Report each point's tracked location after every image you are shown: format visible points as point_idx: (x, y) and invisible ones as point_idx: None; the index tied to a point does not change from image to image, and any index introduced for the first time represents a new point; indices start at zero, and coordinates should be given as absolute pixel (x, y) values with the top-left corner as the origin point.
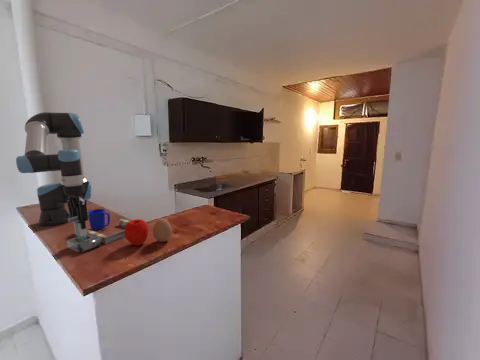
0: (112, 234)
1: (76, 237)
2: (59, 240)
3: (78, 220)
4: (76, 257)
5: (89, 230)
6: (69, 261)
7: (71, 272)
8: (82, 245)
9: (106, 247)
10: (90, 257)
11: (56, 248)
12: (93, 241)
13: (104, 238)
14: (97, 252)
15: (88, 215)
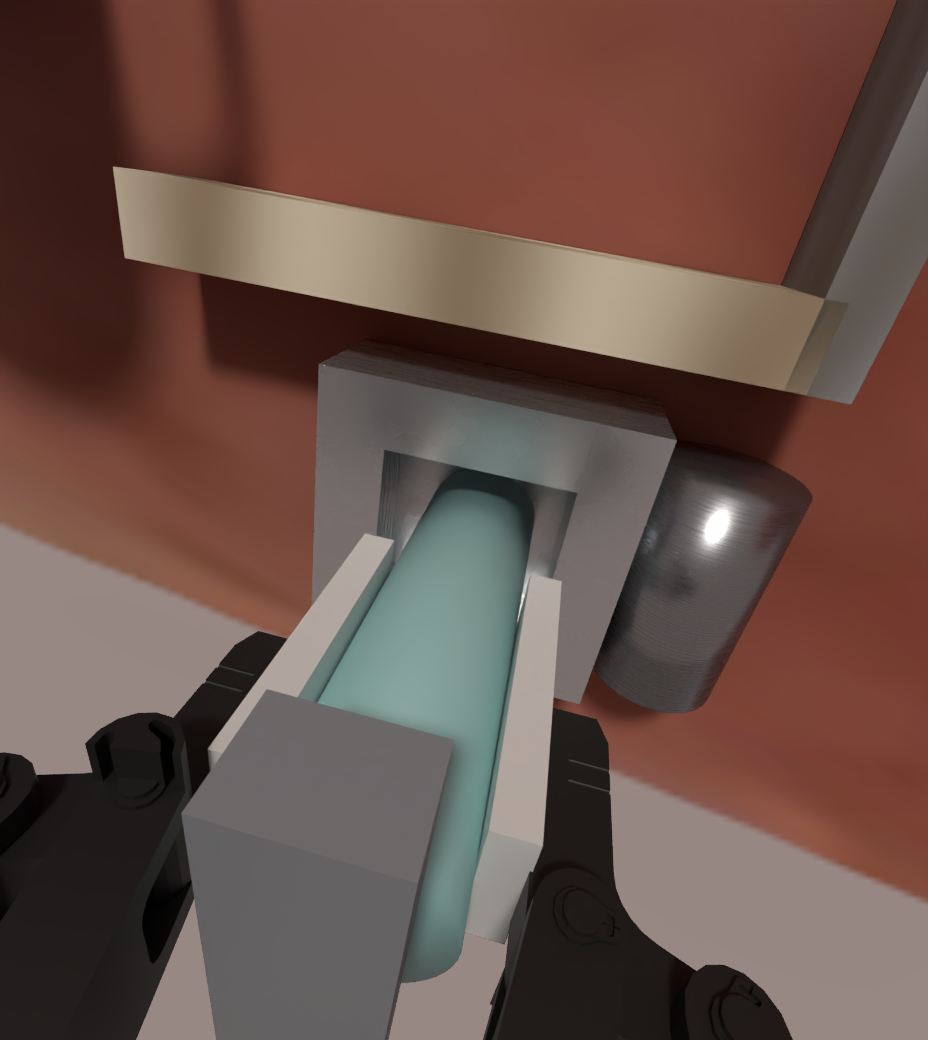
0: (905, 187)
1: (330, 539)
2: (40, 460)
3: (434, 973)
4: (684, 714)
5: (159, 198)
6: (684, 771)
7: (885, 884)
8: (689, 705)
9: (905, 462)
10: (866, 697)
11: (257, 609)
12: (758, 592)
13: (818, 394)
14: (866, 599)
15: (431, 837)
